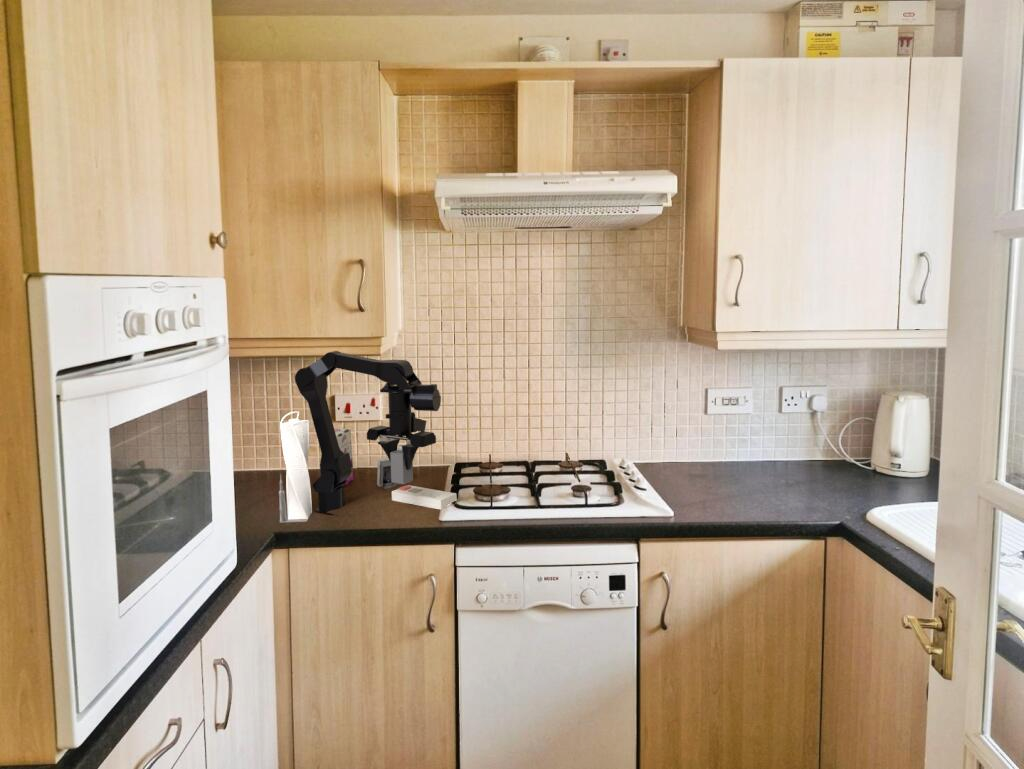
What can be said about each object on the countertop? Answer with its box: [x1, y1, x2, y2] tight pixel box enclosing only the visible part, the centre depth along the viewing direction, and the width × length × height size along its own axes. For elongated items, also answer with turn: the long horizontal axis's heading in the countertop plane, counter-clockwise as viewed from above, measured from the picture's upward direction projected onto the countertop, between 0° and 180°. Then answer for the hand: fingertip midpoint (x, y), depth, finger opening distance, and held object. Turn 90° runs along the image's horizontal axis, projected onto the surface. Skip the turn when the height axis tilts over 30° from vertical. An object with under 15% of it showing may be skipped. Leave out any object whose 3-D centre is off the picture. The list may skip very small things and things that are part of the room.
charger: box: [390, 444, 414, 485], centre depth 195 cm, size 4×4×10 cm
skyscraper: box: [278, 410, 313, 523], centre depth 196 cm, size 8×8×28 cm
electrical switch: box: [376, 457, 400, 490], centre depth 223 cm, size 9×5×9 cm, turn 113°
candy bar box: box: [334, 427, 355, 488], centre depth 225 cm, size 11×5×16 cm, turn 170°
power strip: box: [391, 484, 458, 510], centre depth 206 cm, size 7×17×4 cm, turn 58°
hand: (401, 468), depth 195 cm, fingers closed on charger, 4 cm apart
